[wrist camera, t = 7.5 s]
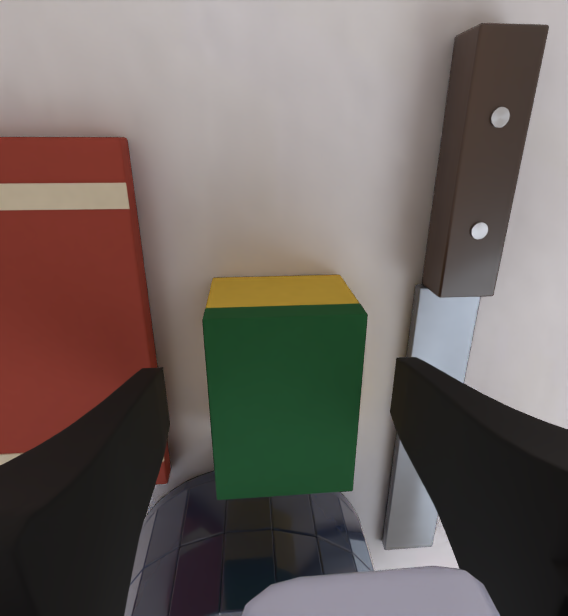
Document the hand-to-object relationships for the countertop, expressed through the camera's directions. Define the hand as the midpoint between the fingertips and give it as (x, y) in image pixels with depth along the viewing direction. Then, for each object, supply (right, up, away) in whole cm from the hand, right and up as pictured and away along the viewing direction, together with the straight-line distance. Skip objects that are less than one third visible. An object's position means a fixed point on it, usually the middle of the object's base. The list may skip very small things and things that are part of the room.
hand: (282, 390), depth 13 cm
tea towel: (-7, +2, +1) cm, 8 cm away
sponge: (0, +1, +2) cm, 2 cm away
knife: (+6, 0, +3) cm, 6 cm away
